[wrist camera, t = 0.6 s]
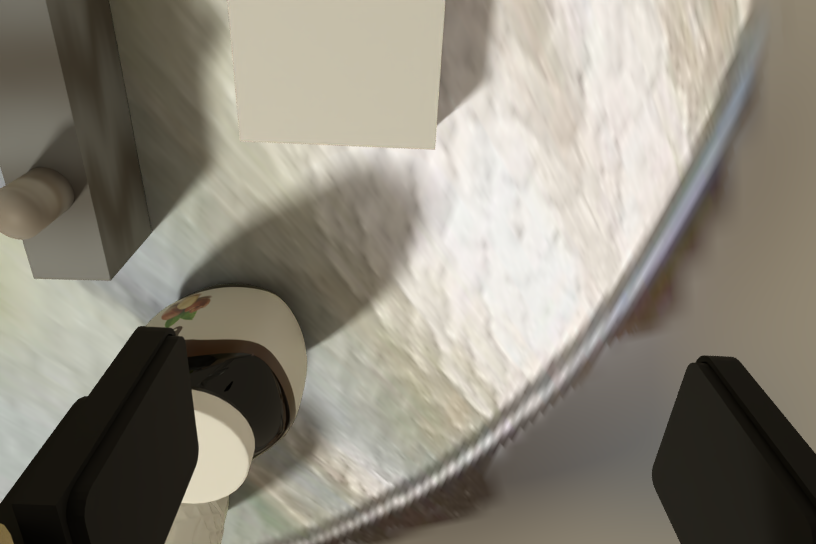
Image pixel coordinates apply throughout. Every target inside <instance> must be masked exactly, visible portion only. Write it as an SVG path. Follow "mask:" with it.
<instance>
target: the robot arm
mask: <svg viewBox="0 0 816 544" xmlns="http://www.w3.org/2000/svg"><path fill="white" fill-rule="evenodd" d="M198 455H199V444H198V436H197V428H196V421H195V413H194V405H193V397H192V389H191V381H190V373H189V365H188V358H187V350H186V343H185V339H184V337H182V336H176V334H175V331H174V329H172V328H166V327H147V326H140V327H138V328H137V329H136V330H135V331H134V333H133V334H132V335H131V337H130V338H129V340H128V341H127V342H126V344H125V345H124V347H123V348H122V349H121V351H120V352H119V354H118V355H117V356H116V358H115V359H114V361H113V362H112V363H111V365H110V366H109V368H108V369H107V370H106V372H105V373H104V375H103V376H102V377H101V379H100V380H99V382H98V383H97V384H96V386H95V387H94V389H93V390H92V391H91V393H90V394H89V396H84V397H82V398H80V399H78V400H77V401H76V402H75V403H74V404H73V405H72V407H71V408H70V410H69V411H68V412H67V414H66V415H65V416H64V418H63V419H62V420H61V422H60V423H59V425H58V426H57V427H56V429H55V430H54V431H53V433H52V434H51V435H50V437H49V438H48V439H47V441H46V442H45V444H44V445H43V446H42V448H41V449H40V450H39V452H38V453H37V454H36V456H35V457H34V459H33V460H32V461H31V463H30V464H29V465H28V467H27V468H26V469H25V471H24V472H23V473H22V475H21V476H20V478H19V479H18V480H17V482H16V483H15V484H14V486H13V487H12V488H11V490H10V491H9V492H8V494H7V495H6V497H5V498H4V499H3V501H2V502H1V503H0V544H165V541H166V539H167V537H168V534H169V532H170V529H171V527H172V524H173V522H174V519H175V517H176V514H177V512H178V510H179V507H180V505H181V502H182V500H183V497H184V495H185V492H186V490H187V487H188V485H189V483H190V480H191V478H192V475H193V473H194V470H195V468H196V465H197V461H198ZM652 480H653V485H654V487H655V490H656V492H657V494H658V496H659V498H660V500H661V503H662V505H663V507H664V509H665V511H666V513H667V516H668V518H669V520H670V522H671V524H672V526H673V528H674V531H675V533H676V534H677V537H678V539H679V541H680V543H681V544H816V454H815V453H814V451H813V450H812V449H811V448H810V447H809V445H808V444H807V443H806V442H805V440H804V439H803V438H802V437H801V436H800V434H799V433H798V432H797V431H796V429H795V428H794V427H793V426H792V425H791V423H790V422H789V421H788V420H787V419H786V417H785V416H784V415H783V414H782V413H781V411H780V410H779V409H778V408H777V406H776V405H775V404H774V403H773V401H772V400H771V399H770V398H769V397H768V395H767V394H766V393H765V392H764V390H763V389H762V388H761V387H760V386H759V385H758V383H757V382H756V381H755V380H754V378H753V377H752V376H751V375H750V373H749V372H748V371H747V370H746V369H745V367H744V366H743V365H742V364H741V363H740V361H739V360H737V359H736V358H734V357H723V356H701V357H699V358H698V359H697V361H696V363H691V364H689V365H688V367H687V369H686V372H685V375H684V378H683V381H682V384H681V386H680V389H679V392H678V395H677V398H676V401H675V404H674V407H673V410H672V413H671V415H670V418H669V421H668V424H667V427H666V430H665V433H664V436H663V439H662V442H661V445H660V448H659V450H658V453H657V456H656V459H655V462H654V465H653V469H652Z"/></svg>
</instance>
